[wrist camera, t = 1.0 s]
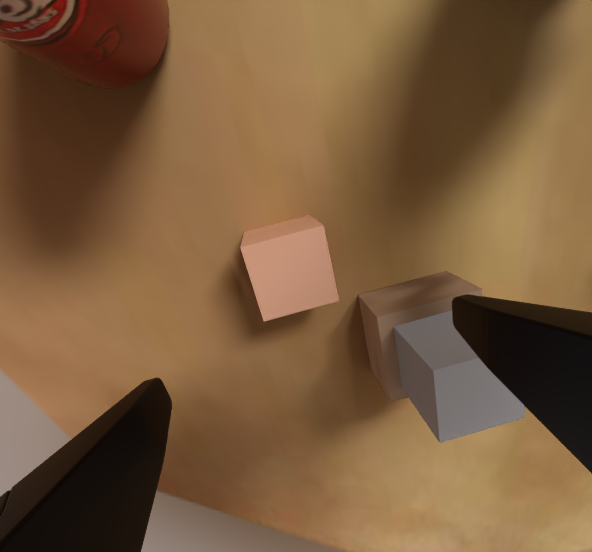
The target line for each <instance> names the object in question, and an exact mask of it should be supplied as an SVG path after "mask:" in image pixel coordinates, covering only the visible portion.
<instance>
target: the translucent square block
mask: <svg viewBox="0 0 592 552" xmlns="http://www.w3.org/2000/svg"><path fill="white" fill-rule="evenodd" d="M465 294H470V295H477V296H482V289H481V288H479V287H477V286H475V285H473V284H471V283H469V282H467V281H465V280H463V279H461V278H459V277H457V276H455V275H453V274H451V273H449V272H447V271H444V272H441V273H437V274H433V275H430V276H426V277H422V278H418V279H415V280H411V281H407V282H404V283H400V284H396V285H392V286H389V287H385V288H381V289H378V290H374V291H370V292H366V293H363V294H359V295H358V298H359V304H360V310H361V315H362V321H363V327H364V332H365V338H366V344H367V350H368V355H369V361H370V367H371V370H372V372H373V374H374V376H375V377H376V379H377V381H378V382H379V384H380V386H381V388H382V389H383V391H384V393H385V394H386V396H387V398H388V400H389V401H390V402H393V401H396V400H400V399H403V398H407V397H408V396H407V394H406V393H405V391H404V390H403V388H402V384H401V377H400V370H399V363H398V355H397V348H396V341H395V334H394V326H398V325H401V324H405V323H409V322H412V321H416V320H419V319H423V318H426V317H430V316H434V315H437V314H441V313H444V312H448V311H451V310H452V300H453V298H454V297H457V296H461V295H465Z"/></svg>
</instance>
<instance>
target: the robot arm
mask: <svg viewBox="0 0 592 552" xmlns="http://www.w3.org/2000/svg"><path fill="white" fill-rule="evenodd" d="M452 319H453V325H454V327H455V329H456V330H457V331H458V333H459V334H460V335H461V336H462V338H463V339H464V340H465V341H466V342H467V344H468V345H469V346H470V347H471V349H472V350H473V351H474V352H475V354H476V355H477V356H478V357H479V359H480V360H481V361H482V362H483V363H484V364H485V366H486V367H487V368H488V369H489V370H490V371H491V372H492V373H493V374H494V375H495V376H496V377H497V378H498V379H499V380H500V381H501V382H502V383H503V384H504V385H505V386H506V387H507V388H508V389H509V390H510V391H511V393H512V394H513V395H514V396H515V397H516V398H517V399H518V400H519V401H520V402H521V403H522V404H523V405H524V406H525V407H526V408H527V409H528V410H529V411H530V412H531V413H532V414H533V415H534V416H535V417H536V418H537V419H538V420H539V421H540V422H541V423H542V424H543V425H544V426H545V427H546V428H547V429H548V430H549V431H550V432H551V433H552V434H553V435H554V436H555V437H556V438H557V439H558V440H559V441H560V442H561V443H562V444H563V445H564V446H565V447H566V448H567V449H568V450H569V451H570V452H571V453H572V454H573V455H574V456H575V457H576V458H577V459H578V460H579V461H580V462H581V463H582V464H583V465H584V466H585V467H586V468H587V469H588V470H589V471H590V472H591V473H592V313H591V312H585V311H578V310H571V309H564V308H558V307H551V306H544V305H537V304H531V303H524V302H517V301H510V300H504V299H497V298H490V297H483V296H477V295H470V294H465V295H461V296H457V297H454V298H453V300H452ZM171 410H172V401H171V398H170V396H169V394H168V392H167V390H166V388H165V386H164V384H163V382H162V380H161V379H160V378H154V379H150V380H146V381H144V382H142V383H141V384H140V385H139V386H137V387H136V388H135V389H134V390H132V391H131V392H130V393H129V394H128V395H126V396H125V397H124V398H123V399H121V400H120V401H119V402H118V403H116V404H115V405H114V406H113V407H111V408H110V409H109V410H108V411H106V412H105V413H104V414H103V415H101V416H100V417H99V418H98V419H96V420H95V421H94V422H93V423H91V424H90V425H89V426H88V427H86V428H85V429H84V430H83V431H82V432H80V433H79V434H78V435H77V436H75V437H74V438H73V439H72V440H70V441H69V442H68V443H67V444H65V445H64V446H63V447H62V448H60V449H59V450H58V451H57V452H56V453H54V454H53V455H52V456H50V457H49V458H48V459H47V460H45V461H44V462H43V463H42V464H40V465H39V466H38V467H37V468H36V469H34V470H33V471H32V472H31V473H29V474H28V475H27V476H26V477H24V478H23V479H22V480H21V481H19V482H18V483H17V484H16V485H14V486H13V487H12V489H11V490H10V491H7V492H6V493H4V494H3V495H2V496H1V497H0V552H141V549H142V545H143V541H144V537H145V533H146V529H147V525H148V521H149V517H150V513H151V509H152V505H153V501H154V497H155V493H156V490H157V486H158V482H159V478H160V474H161V470H162V466H163V461H164V456H165V451H166V444H167V437H168V430H169V424H170V417H171Z"/></svg>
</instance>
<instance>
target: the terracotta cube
mask: <svg viewBox="0 0 592 552" xmlns="http://www.w3.org/2000/svg"><path fill="white" fill-rule="evenodd" d="M240 248H241V251H242V254H243V258H244V261H245V264H246V267H247V270H248V273H249V277H250V280H251V283H252V286H253V289H254V292H255V295H256V299H257V302H258V305H259V308H260V311H261V314H262V318H263V321H268V320H271V319H275V318H279V317H282V316H286V315H290V314H293V313H297V312H300V311H304V310H308V309H311V308H315V307H319V306H322V305H326V304H330V303H333V302H337V301H339V298H338V293H337V288H336V283H335V278H334V273H333V268H332V263H331V259H330V254H329V249H328V244H327V239H326V234H325V229H324V225H323V224H321V223H320V222H318V221H317V220H316V219H314V218H313V217H312V216H310V215H307V216H303V217H299V218H296V219H292V220H288V221H284V222H280V223H277V224H273V225H269V226H265V227H261V228H257V229H254V230H250V231H246V232H244V235H243V239H242V243H241V247H240Z"/></svg>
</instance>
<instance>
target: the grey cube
mask: <svg viewBox="0 0 592 552" xmlns="http://www.w3.org/2000/svg"><path fill="white" fill-rule="evenodd" d="M394 334H395V341H396V348H397V355H398V363H399V370H400V377H401V384H402V388H403V390H404V391H405V393H406V394H407V396H408V397H409V398H410V400H411V401H412V403H413V404H414V406H415V407H416V409H417V410H418V412H419V413H420V415H421V416H422V418H423V419H424V420H425V422H426V423H427V425H428V426H429V428H430V429H431V431H432V432H433V434H434V435H435V437H436V438H437V439H438V441H439V442H440V443H441V442H445V441H448V440H451V439H455V438H458V437H461V436H465V435H468V434H472V433H475V432H478V431H482V430H485V429H488V428H492V427H495V426H499V425H502V424H505V423H509V422H512V421H515V420H519V419H522V418H524V416H525V406H524V405H523V404H522V403H521V402H520V401H519V400H518V399H517V398H516V397H515V396H514V395H513V394H512V393H511V391H510V390H509V389H508V388H507V387H506V386H505V385H504V384H503V383H502V382H501V381H500V380H499V379H498V378H497V377H496V376H495V375H494V374H493V373H492V372H491V371H490V370H489V369H488V368H487V367H486V366H485V364H484V363H483V362H482V361H481V360H480V359H479V357H478V356H477V355H476V354H475V352H474V351H473V350H472V349H471V347H470V346H469V345H468V344H467V342H466V341H465V340H464V339H463V338H462V336H461V335H460V334H459V333H458V331H457V330H456V329H455V327H454V325H453V319H452V310H451V311H448V312H444V313H441V314H437V315H434V316H430V317H426V318H423V319H419V320H416V321H412V322H409V323H405V324H401V325H398V326H394Z"/></svg>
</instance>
